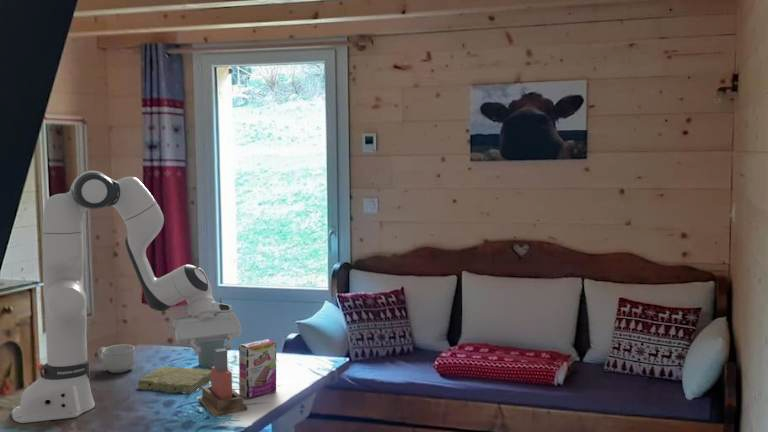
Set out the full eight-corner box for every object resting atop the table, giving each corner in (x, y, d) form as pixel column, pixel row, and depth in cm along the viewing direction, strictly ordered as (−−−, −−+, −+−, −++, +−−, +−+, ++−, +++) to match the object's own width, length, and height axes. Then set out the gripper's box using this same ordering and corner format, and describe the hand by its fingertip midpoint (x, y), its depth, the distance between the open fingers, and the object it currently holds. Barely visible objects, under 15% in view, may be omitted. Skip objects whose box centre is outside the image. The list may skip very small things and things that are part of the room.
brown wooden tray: (214, 416, 220) (214, 402, 220) (198, 400, 234) (197, 388, 234) (247, 410, 225) (247, 396, 225) (229, 395, 239) (229, 382, 239)
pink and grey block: (221, 407, 225) (219, 354, 223) (211, 398, 233) (210, 347, 231) (232, 405, 227) (231, 352, 225) (222, 397, 234) (221, 345, 233)
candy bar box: (248, 400, 235) (247, 347, 233) (238, 396, 238) (237, 344, 237) (277, 391, 242) (276, 340, 241) (268, 388, 246) (267, 338, 244)
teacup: (142, 369, 268) (141, 346, 267) (116, 377, 259) (115, 354, 258) (116, 363, 275) (115, 341, 275) (90, 370, 266) (89, 348, 265)
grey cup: (199, 360, 278) (198, 328, 277) (227, 359, 279) (226, 327, 278) (195, 368, 268) (194, 334, 267) (224, 367, 269) (224, 334, 268)
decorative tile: (162, 374, 263) (161, 364, 263) (216, 378, 259) (216, 367, 258) (133, 391, 245) (133, 380, 244) (191, 395, 241) (191, 384, 240)
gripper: (172, 311, 234) (181, 350, 227) (236, 304, 244) (247, 341, 237) (169, 323, 238) (178, 361, 231) (232, 316, 248) (243, 352, 241)
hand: (213, 351), depth 234 cm, fingers open, 8 cm apart
